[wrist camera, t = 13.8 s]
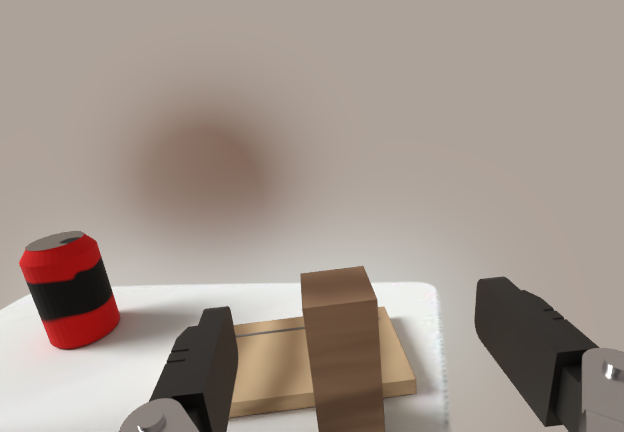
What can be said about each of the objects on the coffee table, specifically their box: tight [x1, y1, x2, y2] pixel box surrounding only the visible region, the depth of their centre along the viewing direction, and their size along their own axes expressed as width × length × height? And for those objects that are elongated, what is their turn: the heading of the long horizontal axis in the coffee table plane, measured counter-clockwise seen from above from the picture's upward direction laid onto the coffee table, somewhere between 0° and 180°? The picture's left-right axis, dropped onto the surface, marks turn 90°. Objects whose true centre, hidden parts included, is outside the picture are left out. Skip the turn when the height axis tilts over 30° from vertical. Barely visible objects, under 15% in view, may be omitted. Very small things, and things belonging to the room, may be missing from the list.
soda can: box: [19, 231, 120, 349], centre depth 44 cm, size 8×8×12 cm
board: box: [229, 307, 416, 418], centre depth 36 cm, size 22×11×2 cm, turn 94°
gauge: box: [301, 266, 385, 432], centre depth 31 cm, size 15×4×13 cm, turn 4°
